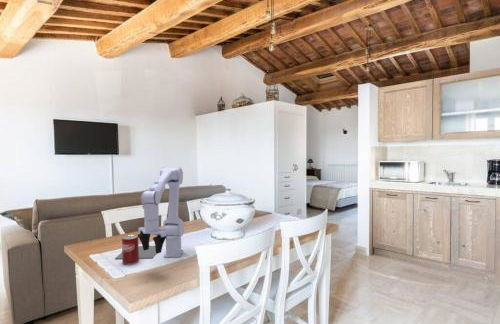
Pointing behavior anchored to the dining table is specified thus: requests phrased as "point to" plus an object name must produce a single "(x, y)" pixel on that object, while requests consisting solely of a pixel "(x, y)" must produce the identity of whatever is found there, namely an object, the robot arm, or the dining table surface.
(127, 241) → the soda can
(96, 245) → the dining table surface
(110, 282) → the dining table surface
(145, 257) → the mat
